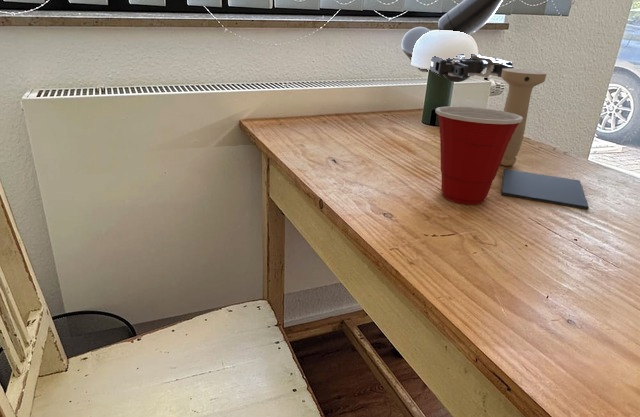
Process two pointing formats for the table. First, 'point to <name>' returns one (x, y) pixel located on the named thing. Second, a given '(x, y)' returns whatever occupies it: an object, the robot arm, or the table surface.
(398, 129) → the table surface
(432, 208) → the table surface
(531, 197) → the mat
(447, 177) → the plastic cup
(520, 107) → the handle
